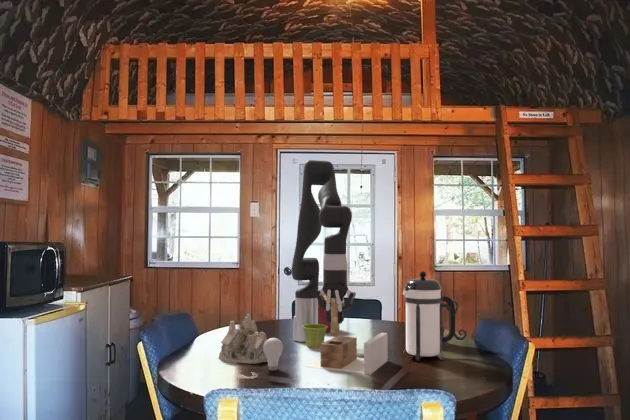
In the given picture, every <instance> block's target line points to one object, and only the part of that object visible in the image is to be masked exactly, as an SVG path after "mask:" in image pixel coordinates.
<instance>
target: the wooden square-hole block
mask: <svg viewBox="0 0 630 420" xmlns="http://www.w3.org/2000/svg"><path fill="white" fill-rule="evenodd" d="M357 338H358V337H352V336H351V337H350V336H342V335H341V336H338V337H332V338H331V339H328V340H326V341H324V343H322V344H321V347H320V359H321V367H329V368H337V369H342V368H344V367H345V366H347V365H348V364H350V363H351V362H353V361H354V360H356V359H357V358H358V357H357V353H358V352H357V351H358V349H357V347H358V346H357V345H358V342H357V341H358V339H357Z"/></svg>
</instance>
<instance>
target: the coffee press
mask: <svg viewBox="0 0 630 420" xmlns="http://www.w3.org/2000/svg"><path fill="white" fill-rule="evenodd" d="M426 276H427V273H426V271H423V270H422V271H420V272H419V277H418V278H410V279H408V280H407V281H406V282H405V285H404V289H403V291H402V295H403V296H404V303H405V306H404V310H405V311H404V312H405V314H404V315H405V317H404V318H405V321H404V322H405V324H404V325H405V329H404V330H405V332H404V333H405V336H404V338H405V339H404V340H405V344H404V345H405V348H404V349H403V351H402V352H401V354H404V353H405V351H406V352H407V354H409V355H411V356H414V357H415V359H414V361H415V362H417V363H420V362H421V360H422V358H423V357H425V358H429V357H437V358H438V359H439V360H441V361H444V360H445V359H446V356H445V354H444V353H443V350H442V349H443V348H442V347H441V342H450V341H451V340H452V339H453V338H454V333H456V315H455V309H456V307H455V303H454V302H453V301H452V300H453V299H452V298H450V297H449V296H444V295H442V296H441V293H442V292H441V291H442V288H443V287H442V285H441V284H440V282H439V281H438V280H437V279H433V278H426ZM441 301H442V302H446V304H447V303H448V305H449V311H448V312H449V314H448V315H449V319H448V320H449V323H448V324H449V326H448V327H449V330H448V334H447V335H446V336H444V337H441ZM440 354H441V356H442V357H443V358H442V357H441V356H440Z"/></svg>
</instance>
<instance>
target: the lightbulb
mask: <svg viewBox="0 0 630 420" xmlns="http://www.w3.org/2000/svg"><path fill="white" fill-rule="evenodd" d="M263 350H264V353H265V355H266V357H267V360H268V362H267V365H268V370H269V371H278V366H279V360H280V358H281V356H282V353H283V350H284V344H283V343H282V341H281V340H280V339H278V337H277V338H276V337H270V338H267V340H266V342H265V343H264V346H263Z"/></svg>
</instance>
